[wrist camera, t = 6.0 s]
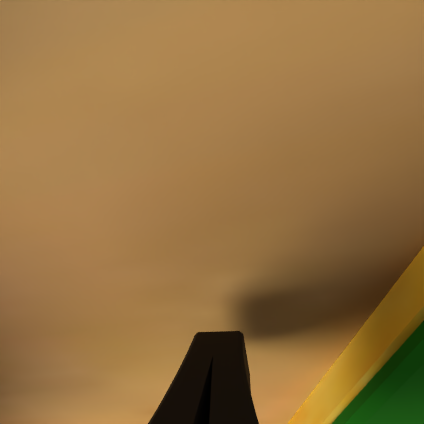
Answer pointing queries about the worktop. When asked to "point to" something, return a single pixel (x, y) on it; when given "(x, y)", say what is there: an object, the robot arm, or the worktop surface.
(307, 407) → the dish sponge
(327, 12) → the worktop surface
